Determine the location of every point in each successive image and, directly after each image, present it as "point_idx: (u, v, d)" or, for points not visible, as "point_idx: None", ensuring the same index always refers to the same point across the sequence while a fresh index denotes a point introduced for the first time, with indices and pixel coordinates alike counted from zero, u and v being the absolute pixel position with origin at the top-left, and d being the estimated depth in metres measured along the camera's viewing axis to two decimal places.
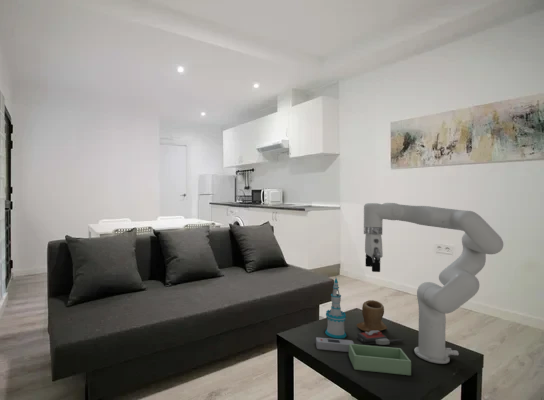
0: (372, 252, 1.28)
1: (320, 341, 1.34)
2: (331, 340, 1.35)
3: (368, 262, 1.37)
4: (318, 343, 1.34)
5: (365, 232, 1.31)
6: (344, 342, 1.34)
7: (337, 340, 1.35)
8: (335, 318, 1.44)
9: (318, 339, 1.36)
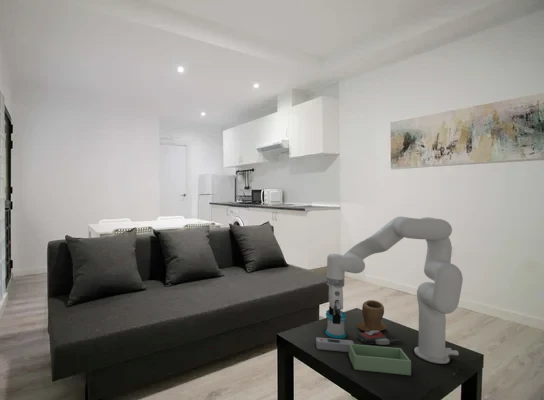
0: (333, 304, 1.30)
1: (320, 341, 1.34)
2: (331, 340, 1.35)
3: (331, 311, 1.39)
4: (318, 343, 1.34)
5: (327, 283, 1.34)
6: (344, 342, 1.34)
7: (337, 340, 1.35)
8: None
9: (318, 339, 1.36)
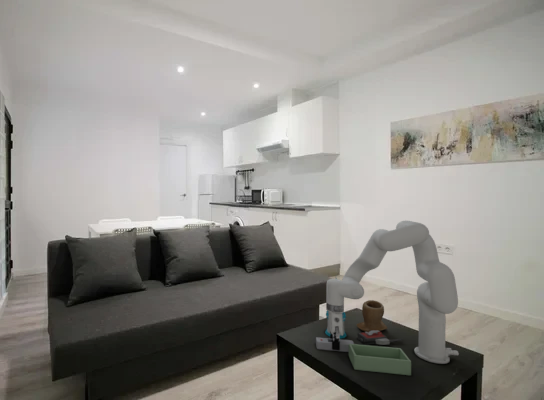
0: (333, 330, 1.30)
1: (320, 341, 1.34)
2: (331, 340, 1.35)
3: None
4: (318, 343, 1.34)
5: (327, 309, 1.34)
6: (344, 342, 1.34)
7: None
8: None
9: (318, 339, 1.36)
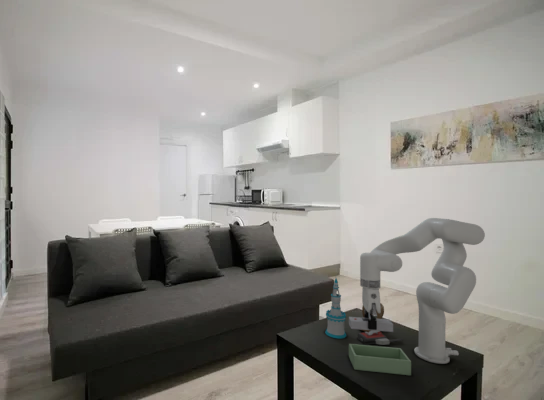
0: (369, 308, 1.19)
1: (354, 320, 1.23)
2: (366, 319, 1.24)
3: None
4: (352, 322, 1.23)
5: (362, 285, 1.23)
6: (381, 321, 1.22)
7: None
8: (335, 318, 1.44)
9: (352, 318, 1.25)
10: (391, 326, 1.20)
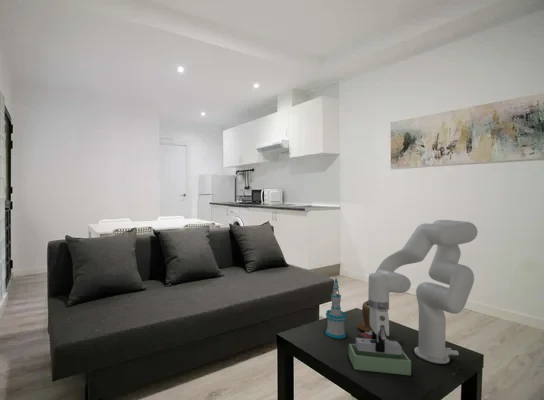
0: (378, 330, 1.16)
1: (362, 342, 1.21)
2: (374, 341, 1.21)
3: None
4: (360, 344, 1.20)
5: (370, 306, 1.20)
6: (389, 343, 1.20)
7: None
8: (335, 318, 1.44)
9: (359, 340, 1.22)
10: (399, 349, 1.17)
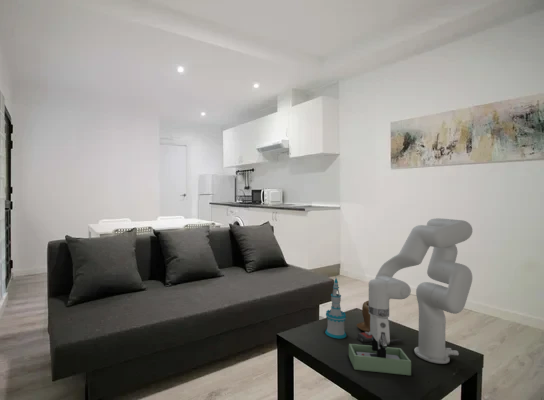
0: (378, 337, 1.16)
1: None
2: (374, 355, 1.21)
3: (375, 346, 1.24)
4: None
5: (370, 313, 1.20)
6: (389, 357, 1.20)
7: None
8: (335, 318, 1.44)
9: (359, 354, 1.23)
10: None
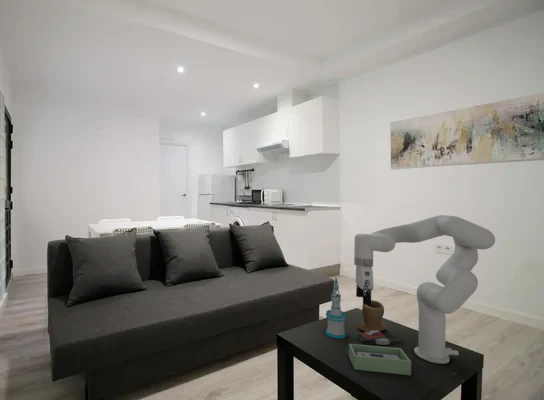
0: (363, 285, 1.26)
1: None
2: (374, 355, 1.21)
3: (359, 292, 1.35)
4: None
5: (356, 263, 1.30)
6: (389, 357, 1.20)
7: (381, 355, 1.21)
8: (335, 318, 1.44)
9: (359, 354, 1.23)
10: None
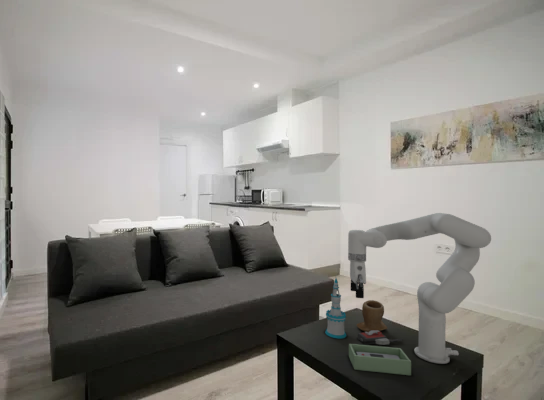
0: (356, 279, 1.31)
1: None
2: (374, 355, 1.21)
3: (353, 287, 1.40)
4: None
5: (349, 258, 1.35)
6: (389, 357, 1.20)
7: (381, 355, 1.21)
8: (335, 318, 1.44)
9: (359, 354, 1.23)
10: None
